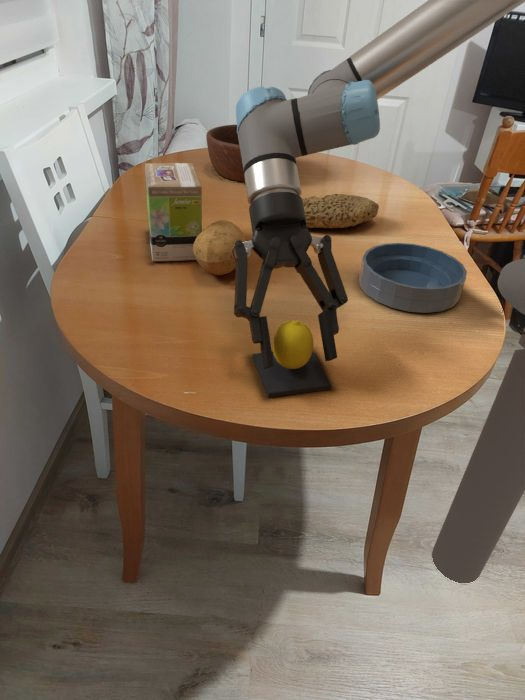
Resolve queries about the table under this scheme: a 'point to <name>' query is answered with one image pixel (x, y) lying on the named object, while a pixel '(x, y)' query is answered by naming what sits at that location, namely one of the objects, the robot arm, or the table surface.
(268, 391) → the mat
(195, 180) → the tea box
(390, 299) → the basin
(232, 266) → the potato
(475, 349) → the table surface
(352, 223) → the sponge
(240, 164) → the wooden bowl
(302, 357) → the lemon
